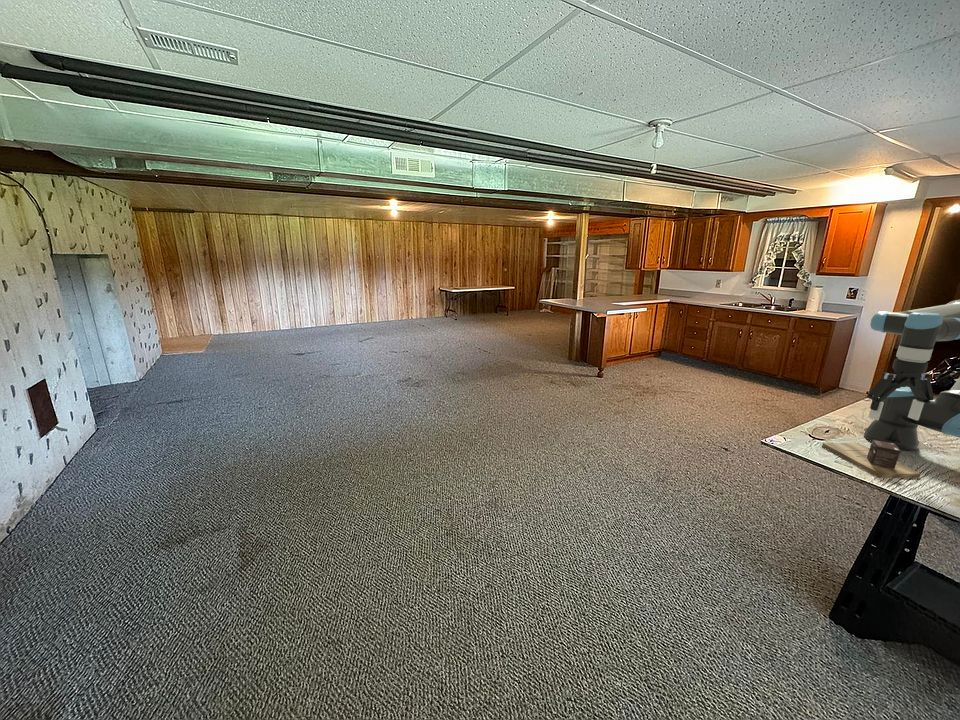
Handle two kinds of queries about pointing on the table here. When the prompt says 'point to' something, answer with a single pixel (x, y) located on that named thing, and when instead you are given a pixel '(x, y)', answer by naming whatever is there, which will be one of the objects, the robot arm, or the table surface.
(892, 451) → the box
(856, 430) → the table surface
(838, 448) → the oak board
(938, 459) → the table surface
